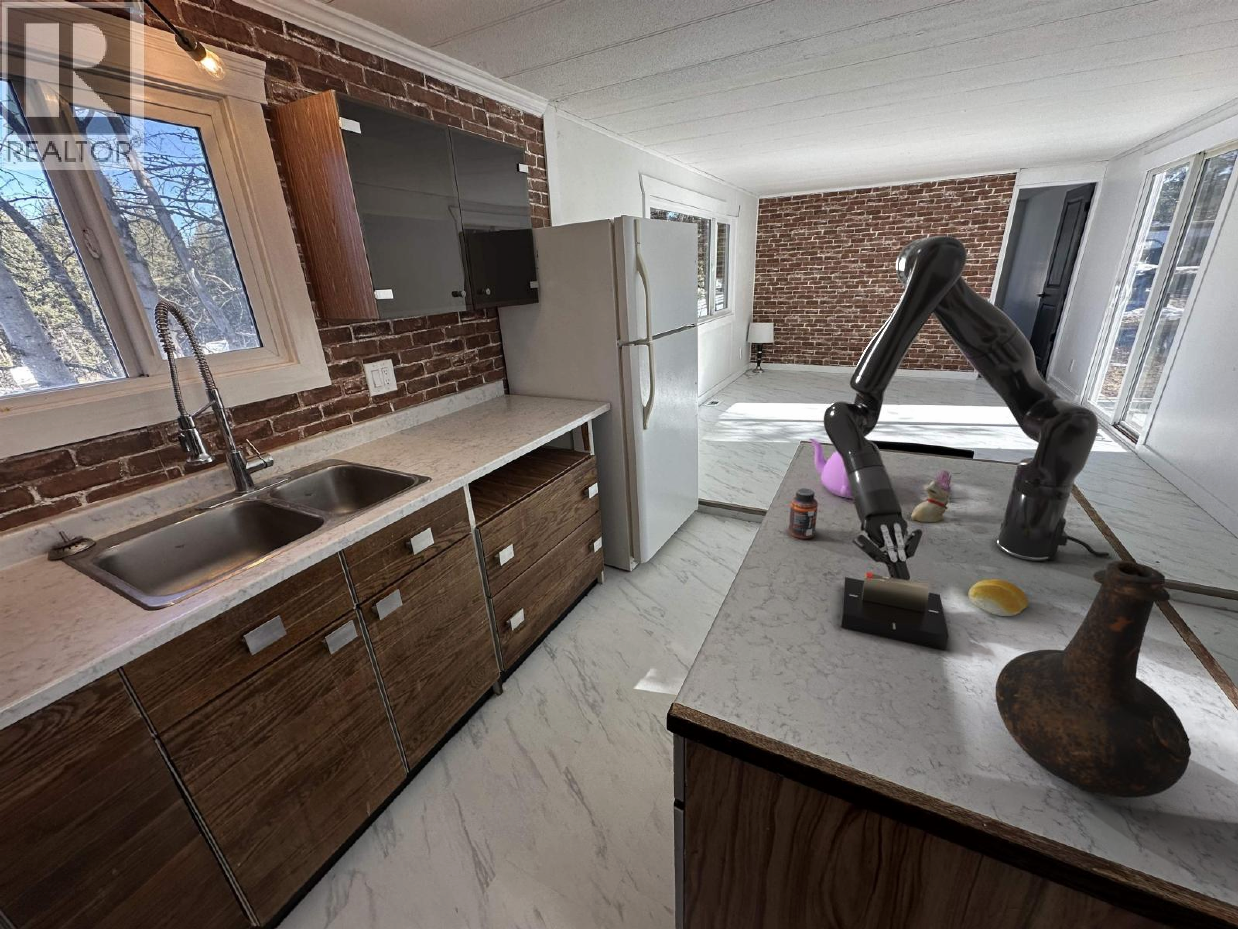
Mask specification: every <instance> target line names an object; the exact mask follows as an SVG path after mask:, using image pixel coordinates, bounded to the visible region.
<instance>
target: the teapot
mask: <svg viewBox="0 0 1238 929" xmlns="http://www.w3.org/2000/svg"><path fill="white" fill-rule="evenodd" d="M808 439H809V441H810V442H811V443H812V445H813V447H814V452H815V453H814V468H815V470H816V471H817V472H818V473H819V474H820V480H821V482H822V485H823V486H824V487H825V489H827V491H829V493H832V494H833V495H836V496H839V497H842V498H846V499H852V500H853V498H852V495H851V491H850V487H849V481H848V477H847V473H846V470H845V467H844V464H843V460H842V458H841V456H840V455H839V453H838V452H837V450H835V452H834V453H832V455H831V456H830V457H829V458H828V460H826V459H825V458H824V455H823V454H824V453H823V446H822V444H821V442H820V441H818V440H816V439H814V438H810V437H809V438H808ZM885 468H886V470H887V467H886V466H885ZM887 471H888V470H887Z"/></svg>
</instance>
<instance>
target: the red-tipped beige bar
mask: <svg viewBox="0 0 1238 929" xmlns="http://www.w3.org/2000/svg"><path fill="white" fill-rule="evenodd" d="M863 580H864V584H863V591H862V600H863V601H868V602H874V603H879V604H884V605H889V606H894V607H899V608H904V609H909V610H914V611H919V612H924V613H925V609H926V604H927V600H928V595H929V593H930V590H931V589H930V584H929V583H925V582H919V581H914V580H909V581H908V580H903V579H897V578H892V577H890V576H886V575H879V574H875V573H873V572H865V573H864V578H863Z"/></svg>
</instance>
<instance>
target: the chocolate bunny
mask: <svg viewBox="0 0 1238 929" xmlns="http://www.w3.org/2000/svg"><path fill="white" fill-rule="evenodd" d="M924 491H925V493H927V495H928V497H927V498H926V499H925V501H923V502H921V503H919V504H917V505H916V506H915V508H914V509H913V511H912V513H911V515H910V518H911V520H912V521H917V522H922V523H936V522H937V523H938V522H939V521H942V520H943V518H944V516H943V515H944V514H945V512H946V511H947V510H948V508H949V507H948V506H947V505H948V504H949V502H950V492H946V491H943V490H942V489H941V488H940V486H939V485H938V484H937V483H936V482H935V480H932V481H931V483H930V484H929V485H927V486H926V487H924Z"/></svg>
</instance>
